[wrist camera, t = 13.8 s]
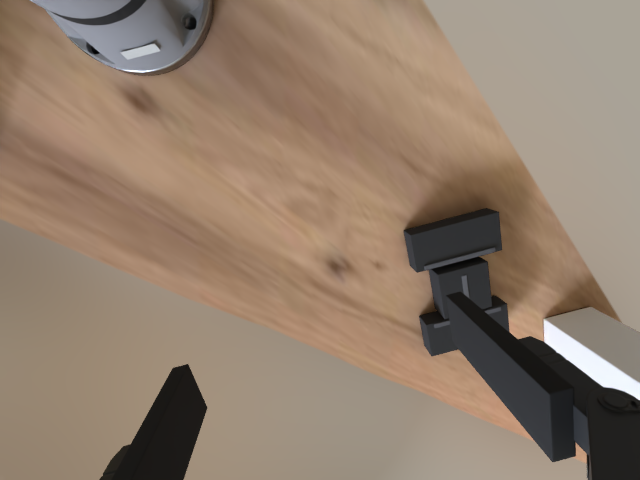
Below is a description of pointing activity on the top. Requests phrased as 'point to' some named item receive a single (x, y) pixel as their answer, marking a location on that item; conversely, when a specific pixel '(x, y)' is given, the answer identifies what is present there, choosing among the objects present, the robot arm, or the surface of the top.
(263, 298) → the top surface
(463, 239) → the pad row
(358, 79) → the top surface
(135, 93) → the top surface
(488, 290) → the loose pad
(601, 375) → the milk carton
